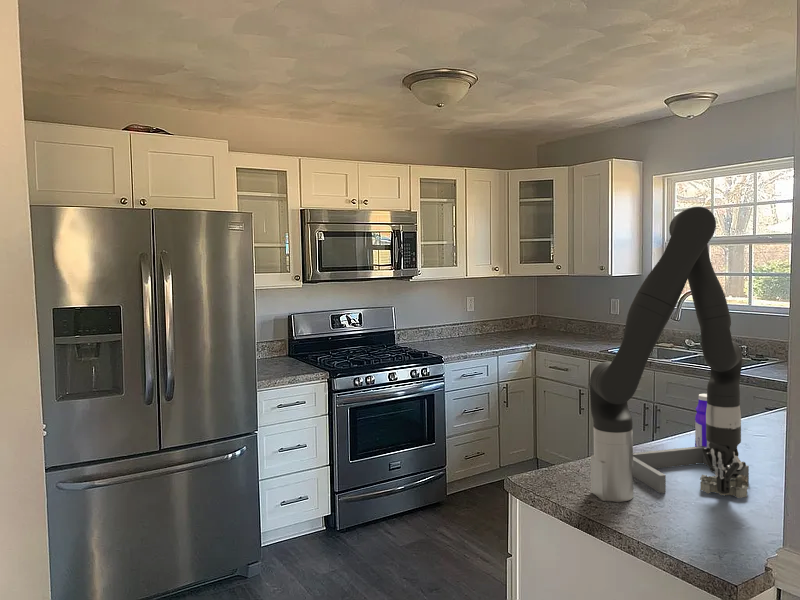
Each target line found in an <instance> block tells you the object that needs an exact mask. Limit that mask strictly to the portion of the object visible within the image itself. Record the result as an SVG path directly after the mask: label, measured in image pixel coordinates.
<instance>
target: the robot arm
mask: <svg viewBox="0 0 800 600" xmlns="http://www.w3.org/2000/svg"><path fill="white" fill-rule="evenodd" d="M716 228H717V220H716V217H715V215H714V213H713V212H712V211H711V210H710V209H708V208H707V207H705V206H700V205H698V206H697V205H696V206H691V207H687V208H685V209H683V210H681V211H680V212H679V213H677V214H676V215H675V216H674V217H673V218H672V220H671V221H670V224H669V230H668V231H669V235H670V238H669V240H668V243H667V245H666V248H665V250H664V251H663V253H662V255H661V257H660V258H659V260H658V261H657V262H656V264H655V265H654V267H653V268H652V269H651V270H650V272H649V273H648V275H647V276H646V278H645V279H644V281H643V282H642V284H641V285H640V287H639V289H638V291H637V293H636V294H635V297H634V299H633V300H632V303H631V304H630V306H629V309H628V312H627V316H626V321H625V325H624V332H623V337H622V340H621V344H620V346H619V348H618V350H617V352H616V354H615V356H614V357H613V359H612V361H603V362H600V363H598V364H597V365H596V366H595V367H594V368H593V369H592V371H591V374H590V377H589V398H590V413H591V416H592V420H593V423H592V424H593V454H592V455H590V493H592V494H593V495H594V496H596V497H598V499H599V500H601V501H603V502H605V501H608V502H617V503H618V502H621V503H622V502H627V501H630V500H632V499H633V498H634V476H633V453H634V440H633V439H634V438H633V436H634V433H633V432H634V431H633V429H634V427H633V425H634V424H633V417H632V415H631V412H630V410H629V406H628V401H630V399H632V397H633V396H635V393H636V391H637V389H638V387H639V384H640V381H641V378H642V376H643V373H644V371H645V367H646V365H647V363H648V361H649V358H650V356H651V354H652V352H653V350H654V349H655V346H656V345H657V343H658V341H659V340H660V338H661V335H662V333H663V332H664V329H665V327H666V326H667V325H668V322H669V320H670V318H671V316H672V313H674V311H675V309H676V306H677V304H678V302H679V299H680V297H681V295H682V293H683V292H684V289H685V286H686V283H687V281H688V287H689V289H690V292H691V293H690V294H691V296H692V301H693V306H694V310H695V313H696V317H697V321H698V325H699V329H700V340H701V341H700V342H701V351H702V356H703V360H704V362H705V363H706V365H707V366H708V367H709V368H710V377H709V380H708V382H707V388H706V394H707V408H706V439H707V441H708V442H709V447H708V448H703V449H702V450H703V453H704V456H705V458H706V460H707V463H708V465H709V466H708V468H709V470H710V471H711V472H713V473H714V476H716V477H717V491H718V492H720V493H722V494H726V493H729V491H730V479H731V478H737V477H738V476H739V474H740V473H741V472H742V470H743V469H744V468H745V467H746V465H747V463H746V462H745V461H741V460H740V458H739V454H740V453H739V451H738V446H739V445H740V443H742V412H741V402H740V401H741V391H740V380H741V377H742V376H741V374H742V367H743V353H742V349H741V347H740V345H739V344H738V343H737V342H736V341H734V340H733V337H732V333H731V326H732V319H731V318H732V317H731V314H730V310H729V307H728V306H729V305H728V301H727V298H726V295H725V292H724V290H723V289H724V288H723V287H722V285H721V283H720V281H719V280H720V279H718V276H717V274H716V272H715V270H714V268H713V265H712V262H711V258H710V254H709V248H708V247H709V246H708V245H709V244H708V243H709V242H710V240H711V239H712V237H713V236H714V234H715V232H716ZM712 462H713V463H712Z"/></svg>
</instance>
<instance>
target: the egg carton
mask: <svg viewBox="0 0 800 600" xmlns="http://www.w3.org/2000/svg"><path fill="white" fill-rule="evenodd" d="M699 480H700V483H699V484H700V491H701V490H703V491H702V492H704V491H705V492H706V493H705V492H704V493H705V494H709V493H710V492H716V494H718V493H719V494H718V495H720V496H722V495H724V497H726V496H733V495H734V497H735V496H736V497H737V499H742V498H747V497H748V496H747V494H748V488H749V483H747V476H743V475H739V476H738V477H737V478H731V479H730V491H729V493H726V494H722V493H720V492H718V491H717V477H716V475H712V476H708V475H707V474H701V475H700V479H699ZM710 494H711V493H710ZM725 495H726V496H725ZM736 497H735V498H736Z"/></svg>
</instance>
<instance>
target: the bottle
mask: <svg viewBox="0 0 800 600" xmlns="http://www.w3.org/2000/svg"><path fill="white" fill-rule="evenodd" d="M697 402H698V403H697V406H696V407H695V411H696V413H695V417H694V420H695V421H694V425H695V427H694V429H695V430H694V431H695V435H694V437H695V439H694V442H695V443H694V447H698V446H705V447H707V448H708V447H709V442H708V441H707V439H706V408H707V393H699V394H698V401H697Z"/></svg>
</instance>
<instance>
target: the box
mask: <svg viewBox="0 0 800 600" xmlns="http://www.w3.org/2000/svg"><path fill="white" fill-rule="evenodd" d="M703 448H707V447H705V446H698V447H695V446H692V447H691V446H690V447H680V448H670V449H661V450H660V449H659V450H650V451H638V452H633V478H635V479H637V480H638V481H640V482H642V483H643V484H645V485H646V484H647V486H648V487H650V489H651V488H652V489H653V490H655V492H657V491H658V492H657V493H659V494H665V492H666V491H667V489H666V487H667V486H666V483H667V482H666V478H667V477H666V474H665V473H662V471H661V472H660V471H659V470H657V469H661V468H662V469H663V468H664V467H665V468H673V467H672V466H675V467H682V466H681V465H684V466H690V465H689V464H694V465H697V464H696V463H704V464H703V465H705V464H706V465H705V466H707V465H708V463H707V460H706V458H705V456H704V453H703V450H702V449H703ZM712 463H713V462H712ZM707 467H709V465H708V466H707ZM665 468H664V469H665ZM749 470H750V469H749V465H747V464H746V467H745V468H744V469H743V470H742V472H741V473H740V474H739V475H743V476H747V483H748V484H749V480H750V478H749V477H750V475H749V474H750V473H749Z"/></svg>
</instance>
